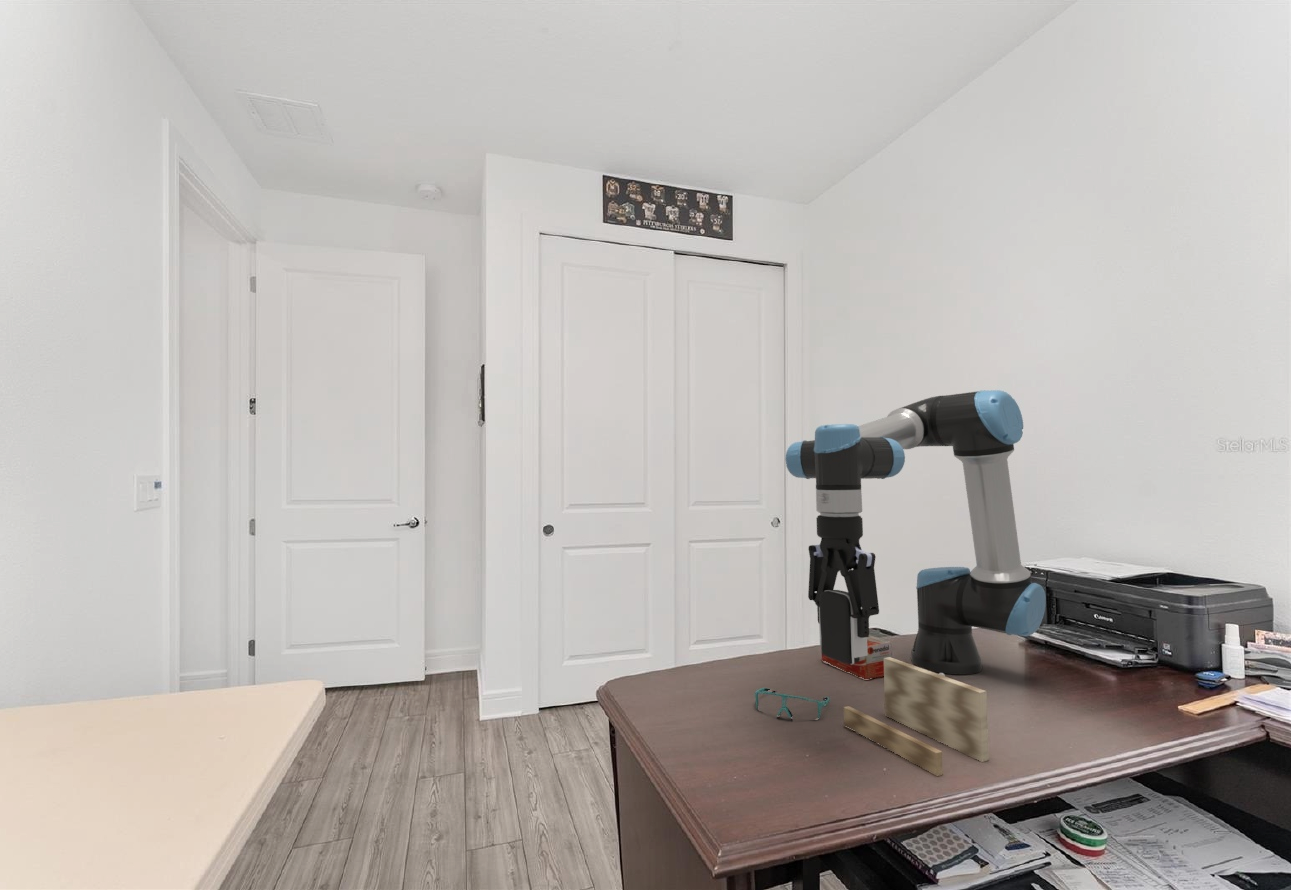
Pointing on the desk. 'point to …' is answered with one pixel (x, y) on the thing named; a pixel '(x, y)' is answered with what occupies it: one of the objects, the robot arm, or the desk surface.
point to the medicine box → (867, 659)
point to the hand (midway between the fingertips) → (842, 649)
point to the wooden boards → (926, 716)
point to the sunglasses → (820, 704)
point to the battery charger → (836, 626)
